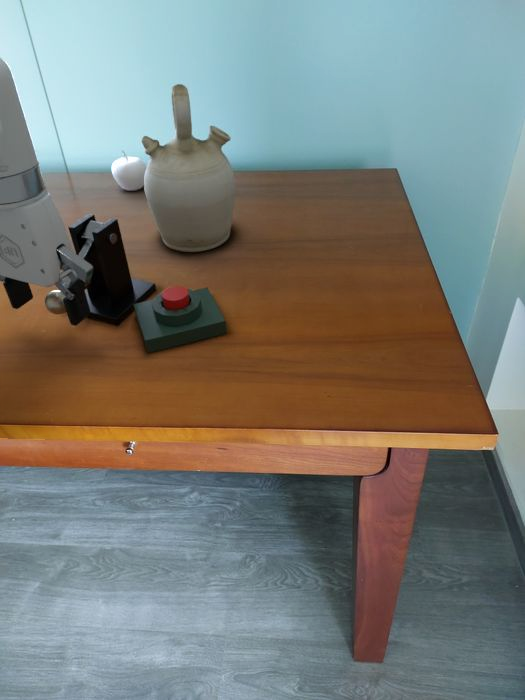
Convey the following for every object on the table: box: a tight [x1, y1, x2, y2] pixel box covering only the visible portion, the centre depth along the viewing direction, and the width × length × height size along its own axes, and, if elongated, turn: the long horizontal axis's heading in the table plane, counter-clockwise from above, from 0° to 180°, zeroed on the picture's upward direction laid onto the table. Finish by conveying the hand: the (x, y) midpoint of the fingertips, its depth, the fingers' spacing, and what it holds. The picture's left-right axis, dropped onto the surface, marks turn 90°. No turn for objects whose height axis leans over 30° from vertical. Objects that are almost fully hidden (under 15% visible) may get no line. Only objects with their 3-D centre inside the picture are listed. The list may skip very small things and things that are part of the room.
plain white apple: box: [111, 149, 147, 192], centre depth 110 cm, size 7×7×8 cm
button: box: [161, 285, 190, 311], centre depth 72 cm, size 4×4×2 cm
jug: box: [141, 83, 236, 253], centre depth 87 cm, size 15×16×25 cm
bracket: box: [67, 213, 157, 326], centre depth 76 cm, size 10×9×13 cm
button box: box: [134, 287, 227, 354], centre depth 73 cm, size 11×9×4 cm
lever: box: [44, 221, 104, 315], centre depth 71 cm, size 14×3×3 cm, turn 155°
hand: (51, 311), depth 69 cm, fingers open, 9 cm apart
